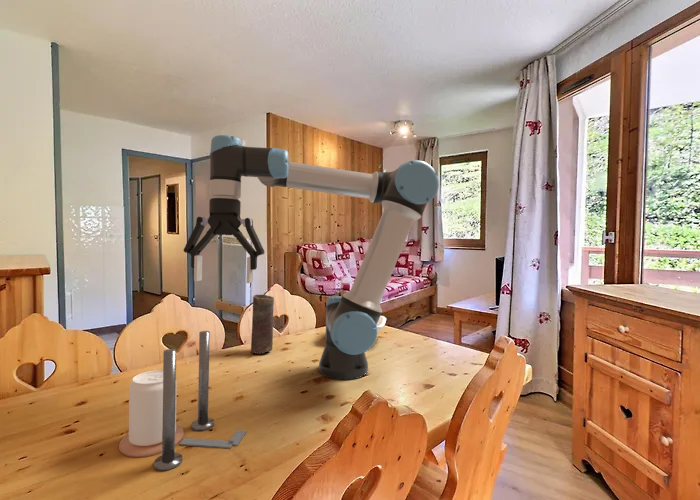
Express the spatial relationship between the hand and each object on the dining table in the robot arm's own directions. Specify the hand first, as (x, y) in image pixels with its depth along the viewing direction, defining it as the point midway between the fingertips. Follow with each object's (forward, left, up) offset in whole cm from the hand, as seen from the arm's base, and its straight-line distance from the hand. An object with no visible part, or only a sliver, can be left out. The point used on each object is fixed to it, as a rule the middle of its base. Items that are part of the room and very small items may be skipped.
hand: (223, 281), depth 93 cm
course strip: (-8, +21, -29) cm, 36 cm away
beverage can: (+4, +23, -28) cm, 37 cm away
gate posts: (-3, +23, -29) cm, 37 cm away
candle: (0, -34, -29) cm, 45 cm away
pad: (+4, +23, -29) cm, 37 cm away
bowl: (-33, -55, -29) cm, 70 cm away
